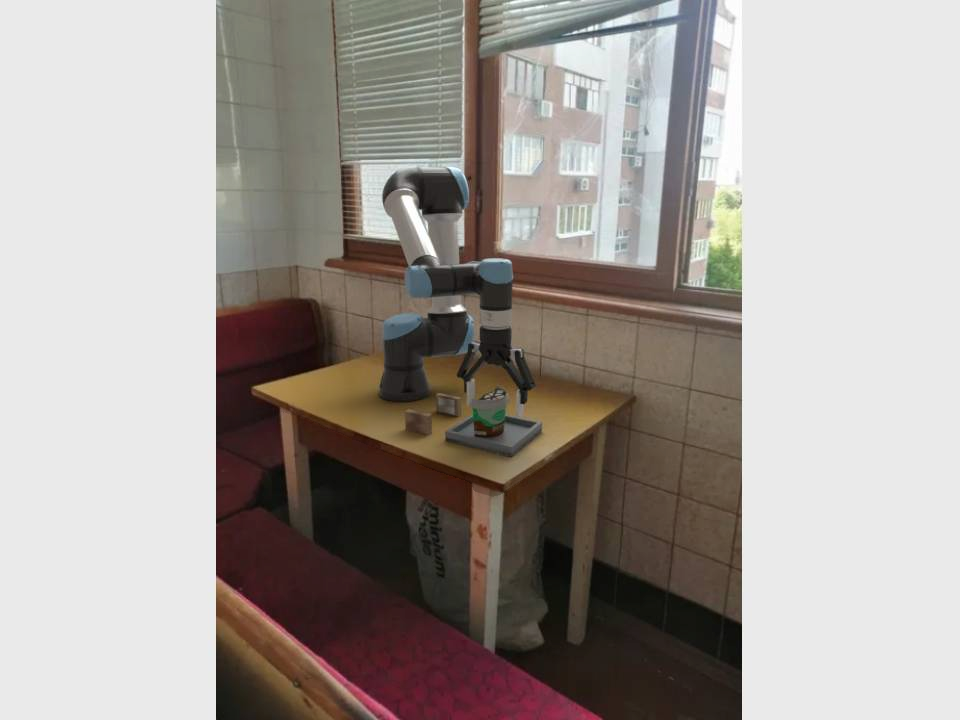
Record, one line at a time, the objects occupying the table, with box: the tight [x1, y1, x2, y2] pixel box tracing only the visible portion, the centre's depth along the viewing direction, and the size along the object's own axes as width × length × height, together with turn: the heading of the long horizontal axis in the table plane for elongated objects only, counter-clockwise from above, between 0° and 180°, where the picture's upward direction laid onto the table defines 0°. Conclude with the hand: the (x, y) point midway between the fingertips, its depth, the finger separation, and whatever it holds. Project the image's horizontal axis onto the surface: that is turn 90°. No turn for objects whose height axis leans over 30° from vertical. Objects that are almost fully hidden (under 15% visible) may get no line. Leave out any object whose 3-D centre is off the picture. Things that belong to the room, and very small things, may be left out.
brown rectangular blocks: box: [404, 392, 462, 436], centre depth 153 cm, size 7×16×5 cm, turn 150°
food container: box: [470, 385, 510, 438], centre depth 144 cm, size 12×6×10 cm, turn 149°
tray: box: [444, 413, 543, 458], centre depth 145 cm, size 18×17×2 cm
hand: (494, 410), depth 144 cm, fingers open, 13 cm apart
